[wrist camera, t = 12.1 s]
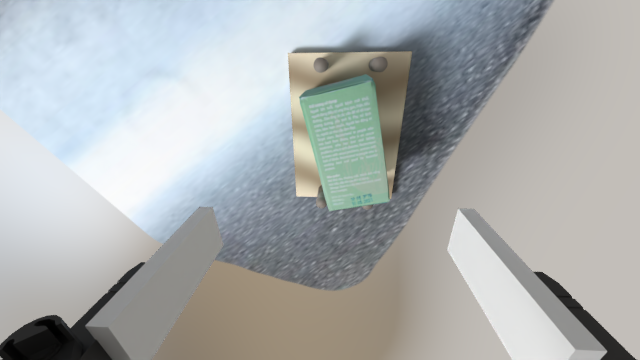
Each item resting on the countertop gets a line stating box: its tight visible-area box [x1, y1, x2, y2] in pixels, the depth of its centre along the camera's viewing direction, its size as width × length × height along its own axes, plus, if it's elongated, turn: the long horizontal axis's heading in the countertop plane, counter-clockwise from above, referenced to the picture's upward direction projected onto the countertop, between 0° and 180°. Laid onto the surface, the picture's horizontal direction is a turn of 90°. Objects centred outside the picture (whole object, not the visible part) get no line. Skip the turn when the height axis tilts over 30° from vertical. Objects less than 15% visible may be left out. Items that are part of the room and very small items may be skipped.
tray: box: [288, 51, 412, 209], centre depth 29 cm, size 19×14×5 cm
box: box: [299, 74, 390, 211], centre depth 27 cm, size 7×14×8 cm, turn 14°
